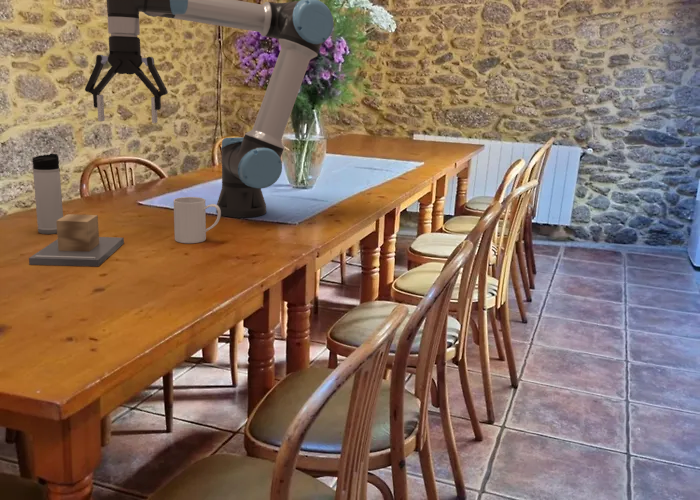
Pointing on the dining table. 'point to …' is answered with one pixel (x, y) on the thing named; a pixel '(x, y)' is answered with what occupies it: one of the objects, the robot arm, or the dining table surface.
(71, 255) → the slate board
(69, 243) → the oak cube
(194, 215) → the mug
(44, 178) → the travel mug
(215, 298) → the dining table surface
